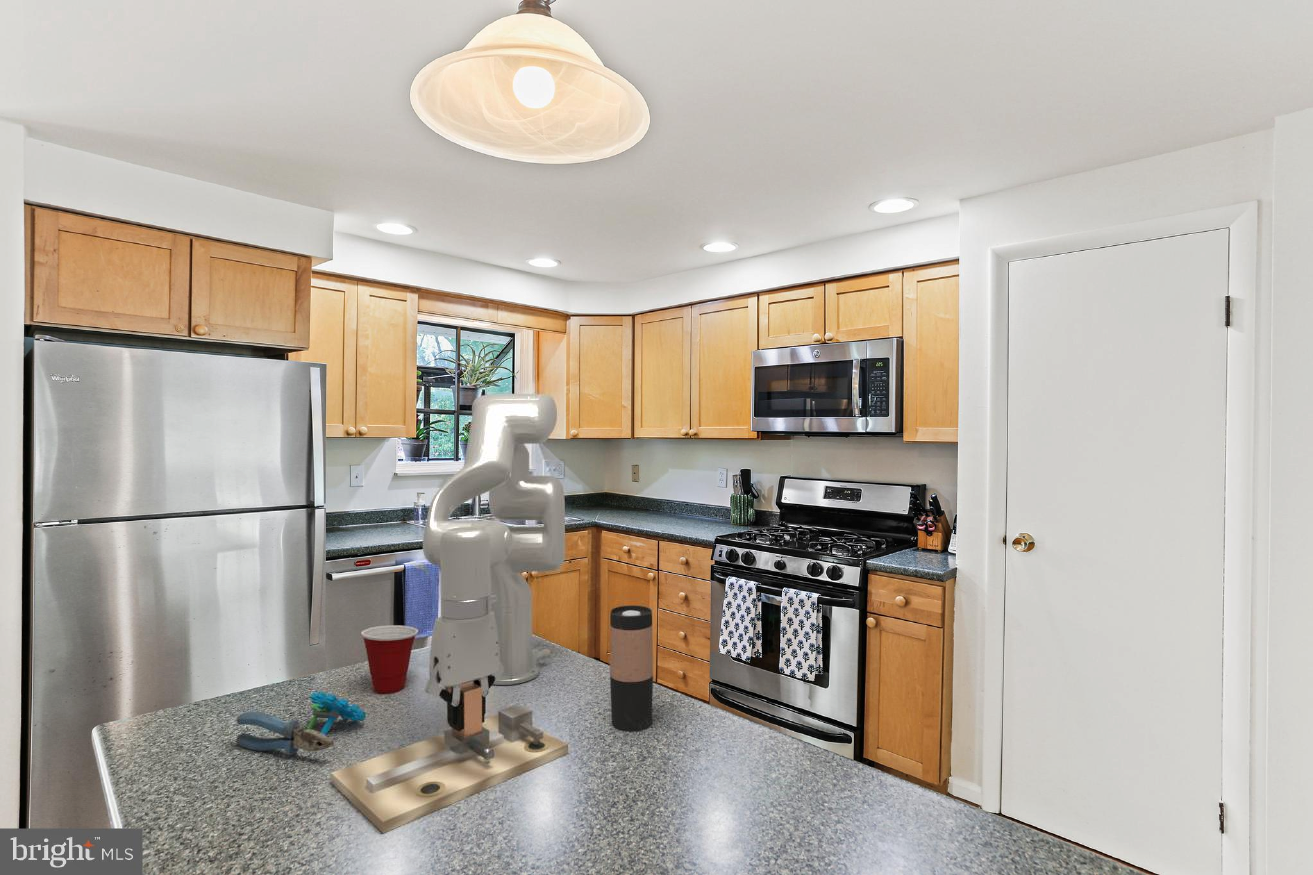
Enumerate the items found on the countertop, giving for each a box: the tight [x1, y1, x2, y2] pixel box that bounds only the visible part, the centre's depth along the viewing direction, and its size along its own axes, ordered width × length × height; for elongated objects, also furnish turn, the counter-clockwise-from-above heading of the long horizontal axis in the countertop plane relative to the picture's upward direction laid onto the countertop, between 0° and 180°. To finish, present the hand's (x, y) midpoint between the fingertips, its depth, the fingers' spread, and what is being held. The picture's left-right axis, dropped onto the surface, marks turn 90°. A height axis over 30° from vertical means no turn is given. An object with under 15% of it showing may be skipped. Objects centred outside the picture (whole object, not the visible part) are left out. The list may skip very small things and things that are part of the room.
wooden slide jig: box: [330, 703, 569, 834], centre depth 103 cm, size 30×18×6 cm, turn 135°
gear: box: [306, 691, 367, 736], centre depth 116 cm, size 11×6×10 cm
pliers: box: [235, 711, 335, 756], centre depth 108 cm, size 20×2×6 cm, turn 69°
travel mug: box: [609, 604, 654, 732], centre depth 119 cm, size 8×8×20 cm
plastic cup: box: [360, 624, 419, 695], centre depth 135 cm, size 11×11×12 cm
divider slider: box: [443, 681, 494, 764], centre depth 103 cm, size 5×10×10 cm, turn 45°
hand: (466, 723), depth 104 cm, fingers closed on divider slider, 3 cm apart
